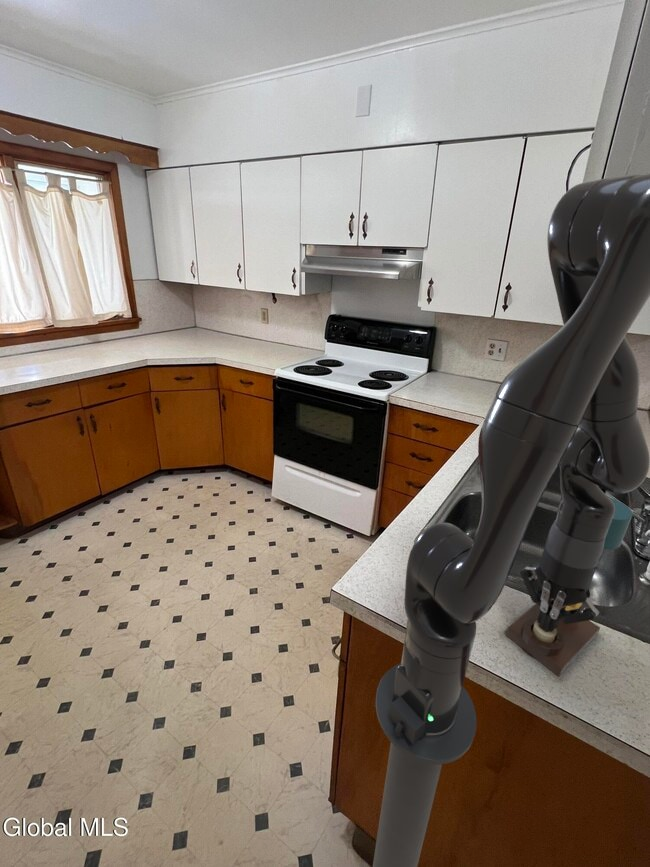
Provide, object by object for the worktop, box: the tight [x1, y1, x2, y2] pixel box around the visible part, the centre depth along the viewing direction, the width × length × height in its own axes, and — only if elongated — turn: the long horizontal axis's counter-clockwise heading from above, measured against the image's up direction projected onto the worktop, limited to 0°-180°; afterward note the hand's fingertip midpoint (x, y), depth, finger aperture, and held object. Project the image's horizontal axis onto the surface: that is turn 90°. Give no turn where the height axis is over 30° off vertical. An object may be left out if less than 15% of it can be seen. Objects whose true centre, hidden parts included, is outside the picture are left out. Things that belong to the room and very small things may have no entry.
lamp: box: [565, 497, 634, 611], centre depth 75 cm, size 7×7×23 cm
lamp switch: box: [532, 620, 557, 643], centre depth 75 cm, size 4×4×2 cm
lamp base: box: [505, 603, 601, 677], centre depth 78 cm, size 15×10×4 cm
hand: (545, 627), depth 75 cm, fingers closed
